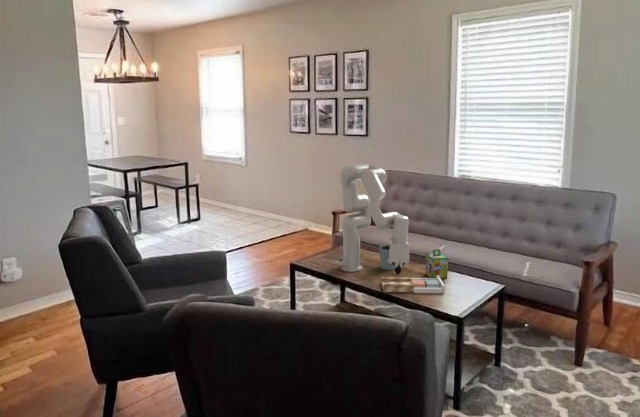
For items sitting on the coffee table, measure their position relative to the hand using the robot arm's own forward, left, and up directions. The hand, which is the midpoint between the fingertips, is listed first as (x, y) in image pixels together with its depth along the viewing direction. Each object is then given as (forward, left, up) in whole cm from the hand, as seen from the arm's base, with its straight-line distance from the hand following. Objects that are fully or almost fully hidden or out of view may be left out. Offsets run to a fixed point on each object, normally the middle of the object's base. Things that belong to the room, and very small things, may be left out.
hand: (397, 273), depth 259 cm
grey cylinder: (-2, +31, -7) cm, 32 cm away
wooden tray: (0, -1, -7) cm, 7 cm away
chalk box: (+23, +17, -7) cm, 30 cm away
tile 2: (+17, -1, -7) cm, 19 cm away
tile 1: (+10, -1, -7) cm, 13 cm away
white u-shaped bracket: (+15, -1, -7) cm, 16 cm away
